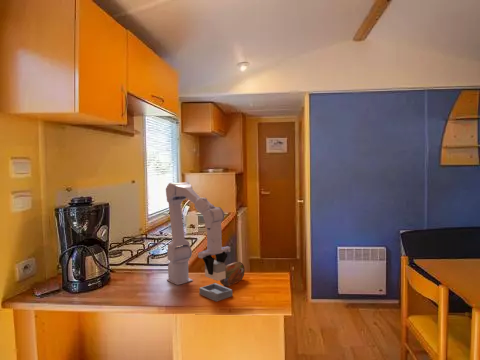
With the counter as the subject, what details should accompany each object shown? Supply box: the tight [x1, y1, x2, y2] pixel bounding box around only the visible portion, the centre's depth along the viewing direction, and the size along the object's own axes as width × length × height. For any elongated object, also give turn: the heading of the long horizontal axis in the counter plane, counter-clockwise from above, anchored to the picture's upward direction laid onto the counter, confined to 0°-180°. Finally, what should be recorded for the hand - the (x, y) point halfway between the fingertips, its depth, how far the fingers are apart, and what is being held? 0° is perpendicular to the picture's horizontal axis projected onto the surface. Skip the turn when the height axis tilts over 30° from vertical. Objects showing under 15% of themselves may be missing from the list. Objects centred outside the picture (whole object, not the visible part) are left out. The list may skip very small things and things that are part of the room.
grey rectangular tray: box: [199, 282, 233, 302], centre depth 138 cm, size 11×8×2 cm
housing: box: [204, 259, 226, 282], centre depth 138 cm, size 4×8×6 cm, turn 42°
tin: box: [219, 261, 246, 287], centre depth 152 cm, size 15×3×8 cm, turn 143°
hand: (215, 272), depth 138 cm, fingers closed on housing, 4 cm apart
